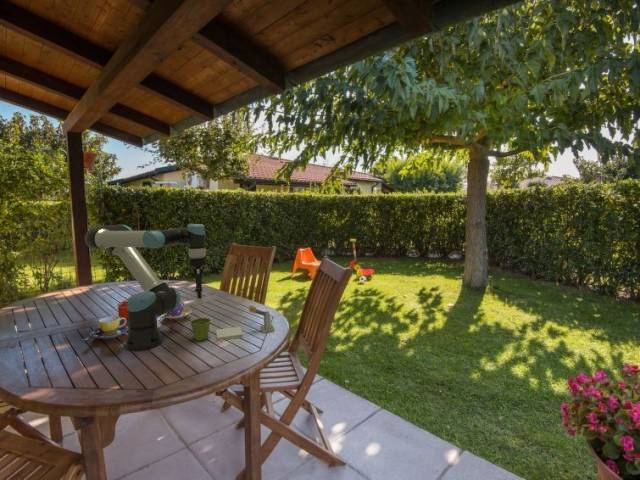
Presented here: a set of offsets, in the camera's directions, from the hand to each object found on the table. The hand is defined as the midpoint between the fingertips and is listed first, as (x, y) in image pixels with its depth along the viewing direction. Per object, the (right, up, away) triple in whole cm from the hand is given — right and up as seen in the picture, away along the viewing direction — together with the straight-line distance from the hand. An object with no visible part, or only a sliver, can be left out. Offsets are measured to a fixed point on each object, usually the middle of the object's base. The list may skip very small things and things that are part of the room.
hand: (199, 301), depth 164 cm
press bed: (+12, -18, +6) cm, 23 cm away
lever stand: (+30, -17, +12) cm, 37 cm away
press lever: (+26, -8, +10) cm, 29 cm away
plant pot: (0, -19, +2) cm, 19 cm away
